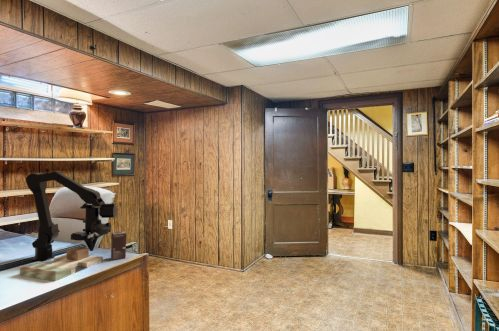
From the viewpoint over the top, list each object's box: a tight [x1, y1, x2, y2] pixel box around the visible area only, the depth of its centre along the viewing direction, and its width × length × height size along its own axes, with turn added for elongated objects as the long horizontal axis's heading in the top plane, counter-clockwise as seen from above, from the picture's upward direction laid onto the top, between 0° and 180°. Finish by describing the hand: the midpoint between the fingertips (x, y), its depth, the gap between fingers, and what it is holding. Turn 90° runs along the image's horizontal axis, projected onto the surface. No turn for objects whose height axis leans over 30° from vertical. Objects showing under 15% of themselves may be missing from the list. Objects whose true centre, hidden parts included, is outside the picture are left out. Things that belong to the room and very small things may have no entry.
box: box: [110, 230, 127, 261], centre depth 142 cm, size 6×4×12 cm
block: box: [66, 246, 90, 261], centre depth 135 cm, size 6×6×4 cm
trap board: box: [19, 253, 104, 282], centre depth 128 cm, size 18×24×4 cm
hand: (91, 250), depth 142 cm, fingers closed
